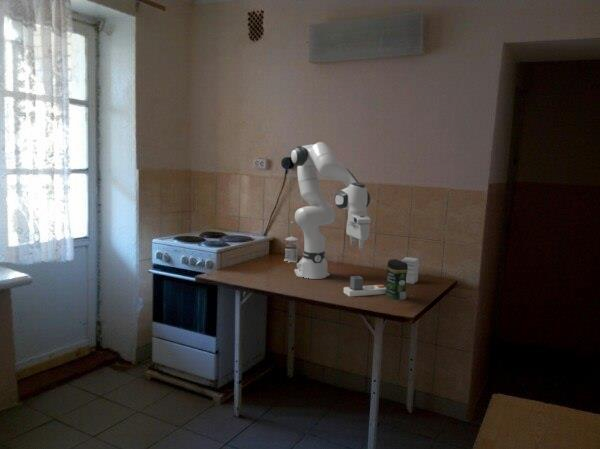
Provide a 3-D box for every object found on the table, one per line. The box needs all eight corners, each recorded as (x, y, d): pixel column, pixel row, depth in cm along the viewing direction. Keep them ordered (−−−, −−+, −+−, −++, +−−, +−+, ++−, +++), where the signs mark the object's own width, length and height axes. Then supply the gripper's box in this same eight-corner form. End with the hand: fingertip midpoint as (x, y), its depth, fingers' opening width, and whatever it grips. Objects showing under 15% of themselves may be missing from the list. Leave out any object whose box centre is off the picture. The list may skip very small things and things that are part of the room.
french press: (292, 258, 312) (293, 219, 309) (304, 261, 304) (305, 222, 300) (280, 260, 306) (281, 220, 303) (291, 263, 297) (292, 223, 294)
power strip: (343, 294, 235) (343, 285, 234) (380, 291, 241) (380, 283, 241) (349, 298, 228) (349, 289, 228) (387, 295, 235) (387, 287, 234)
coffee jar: (382, 296, 233) (384, 258, 230) (396, 295, 236) (398, 257, 234) (394, 302, 224) (396, 263, 222) (408, 300, 228) (410, 261, 225)
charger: (349, 292, 234) (350, 276, 233) (358, 292, 236) (359, 275, 235) (353, 295, 230) (354, 278, 229) (362, 294, 232) (363, 278, 230)
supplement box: (404, 279, 268) (406, 256, 266) (417, 281, 264) (419, 258, 262) (400, 281, 262) (401, 258, 260) (413, 284, 258) (415, 260, 256)
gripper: (343, 215, 237) (342, 243, 239) (359, 220, 218) (358, 250, 219) (355, 215, 239) (354, 243, 241) (372, 220, 219) (371, 250, 221)
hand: (356, 246), depth 230 cm, fingers open, 8 cm apart
